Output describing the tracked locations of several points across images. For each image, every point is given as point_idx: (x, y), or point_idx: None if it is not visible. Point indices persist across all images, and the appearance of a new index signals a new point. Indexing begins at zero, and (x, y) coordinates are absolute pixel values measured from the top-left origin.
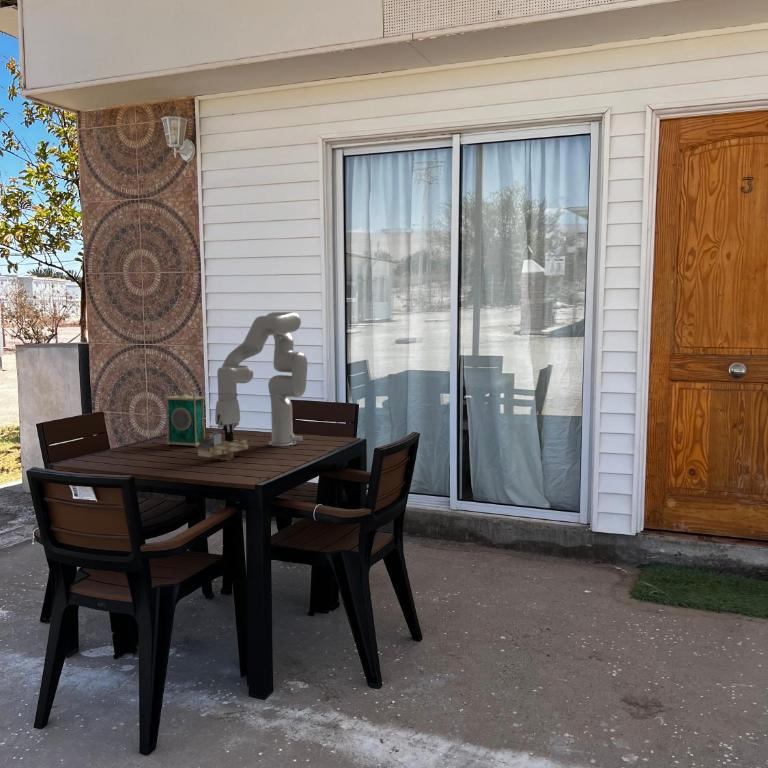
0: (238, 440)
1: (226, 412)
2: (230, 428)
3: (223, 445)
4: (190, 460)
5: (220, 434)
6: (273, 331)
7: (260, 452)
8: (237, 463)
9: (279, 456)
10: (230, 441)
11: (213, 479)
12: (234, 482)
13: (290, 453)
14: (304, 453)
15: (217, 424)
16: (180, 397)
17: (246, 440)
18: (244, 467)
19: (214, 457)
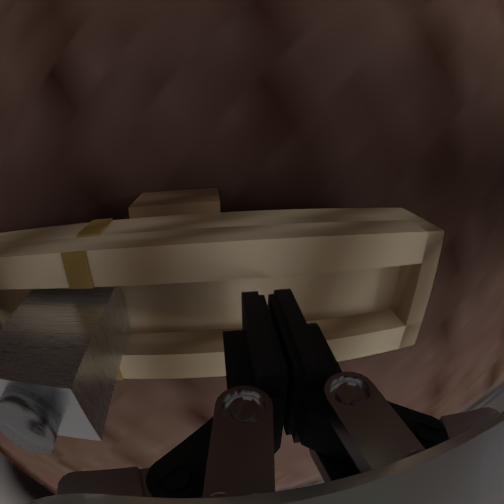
0: (417, 260)
1: None
2: (331, 445)
3: (124, 377)
4: (22, 99)
5: (93, 432)
6: None
7: (452, 261)
8: (163, 391)
9: (391, 390)
10: (321, 272)
11: (6, 444)
12: (45, 481)
13: (449, 367)
14: (452, 391)
15: (72, 495)
16: None
17: (410, 339)
18: (139, 444)
19: (139, 196)
